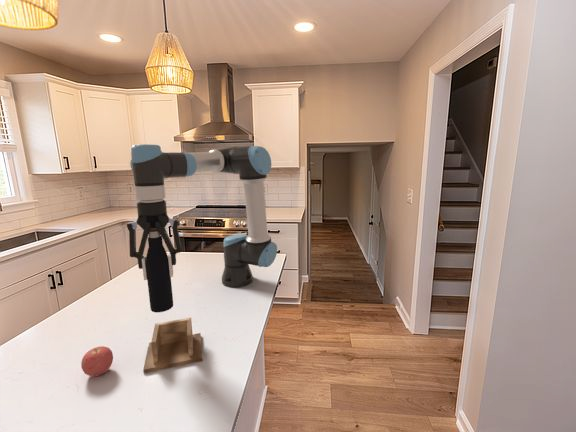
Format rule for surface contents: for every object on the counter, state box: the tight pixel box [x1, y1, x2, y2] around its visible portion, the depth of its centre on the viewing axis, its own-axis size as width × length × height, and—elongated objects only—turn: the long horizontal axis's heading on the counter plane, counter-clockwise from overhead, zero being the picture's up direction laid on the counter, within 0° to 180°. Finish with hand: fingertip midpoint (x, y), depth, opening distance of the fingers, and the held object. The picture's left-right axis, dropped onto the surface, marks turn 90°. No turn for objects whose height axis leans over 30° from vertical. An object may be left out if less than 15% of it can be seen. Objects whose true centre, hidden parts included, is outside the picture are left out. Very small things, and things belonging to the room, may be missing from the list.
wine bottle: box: [145, 215, 174, 313], centre depth 86 cm, size 6×6×30 cm
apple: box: [80, 345, 114, 377], centre depth 82 cm, size 7×7×8 cm
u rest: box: [142, 317, 203, 374], centre depth 90 cm, size 16×13×8 cm
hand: (159, 276), depth 87 cm, fingers closed on wine bottle, 6 cm apart
